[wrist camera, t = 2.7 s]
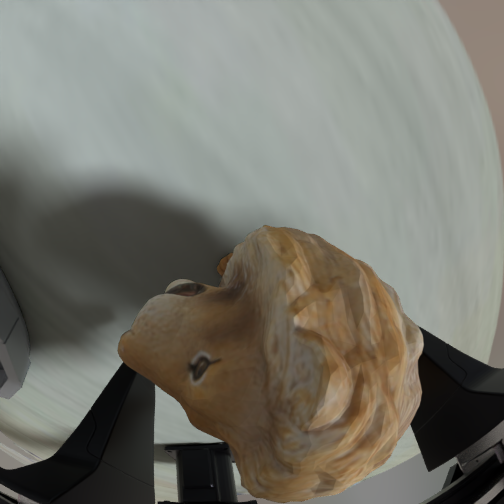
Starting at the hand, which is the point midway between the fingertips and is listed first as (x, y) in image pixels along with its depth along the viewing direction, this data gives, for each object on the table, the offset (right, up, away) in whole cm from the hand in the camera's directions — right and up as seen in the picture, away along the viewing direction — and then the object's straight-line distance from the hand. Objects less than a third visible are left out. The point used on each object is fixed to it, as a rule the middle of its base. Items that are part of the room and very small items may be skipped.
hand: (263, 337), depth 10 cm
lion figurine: (0, +1, +3) cm, 3 cm away
